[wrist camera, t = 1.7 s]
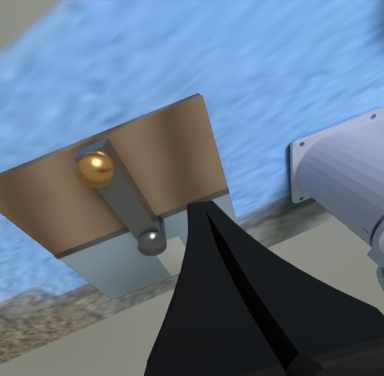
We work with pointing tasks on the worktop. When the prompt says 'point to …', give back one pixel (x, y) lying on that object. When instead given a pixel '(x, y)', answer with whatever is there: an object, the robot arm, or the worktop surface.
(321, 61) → the worktop surface
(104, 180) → the lock bar
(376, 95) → the worktop surface
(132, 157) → the jamb board
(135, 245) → the door leaf
